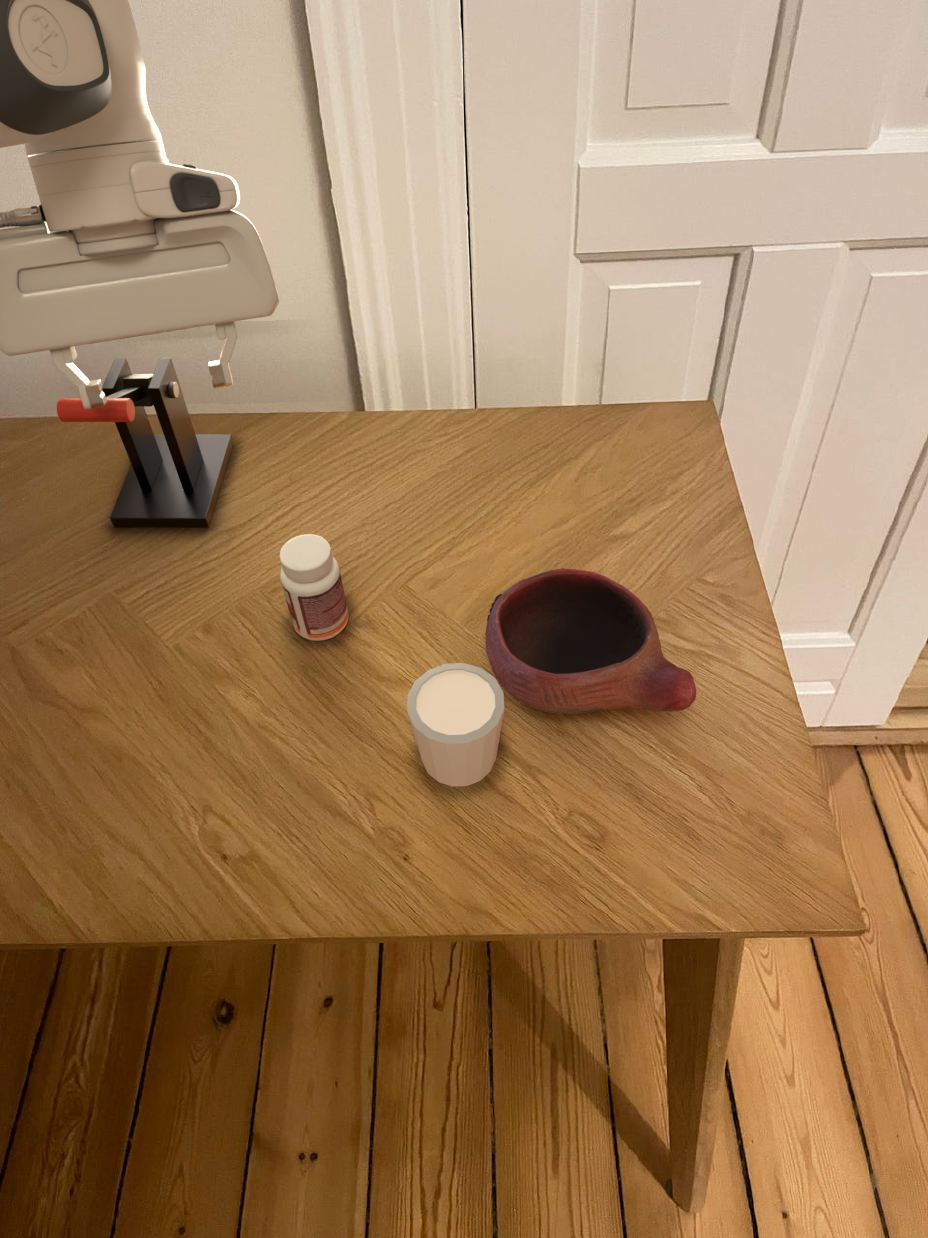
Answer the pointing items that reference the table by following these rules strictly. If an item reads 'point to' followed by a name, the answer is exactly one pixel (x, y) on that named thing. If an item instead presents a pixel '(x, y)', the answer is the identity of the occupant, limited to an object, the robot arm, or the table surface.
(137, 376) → the clamp lever
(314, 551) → the pill bottle
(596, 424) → the table surface
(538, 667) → the bowl
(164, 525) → the clamp
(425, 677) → the shot glass
